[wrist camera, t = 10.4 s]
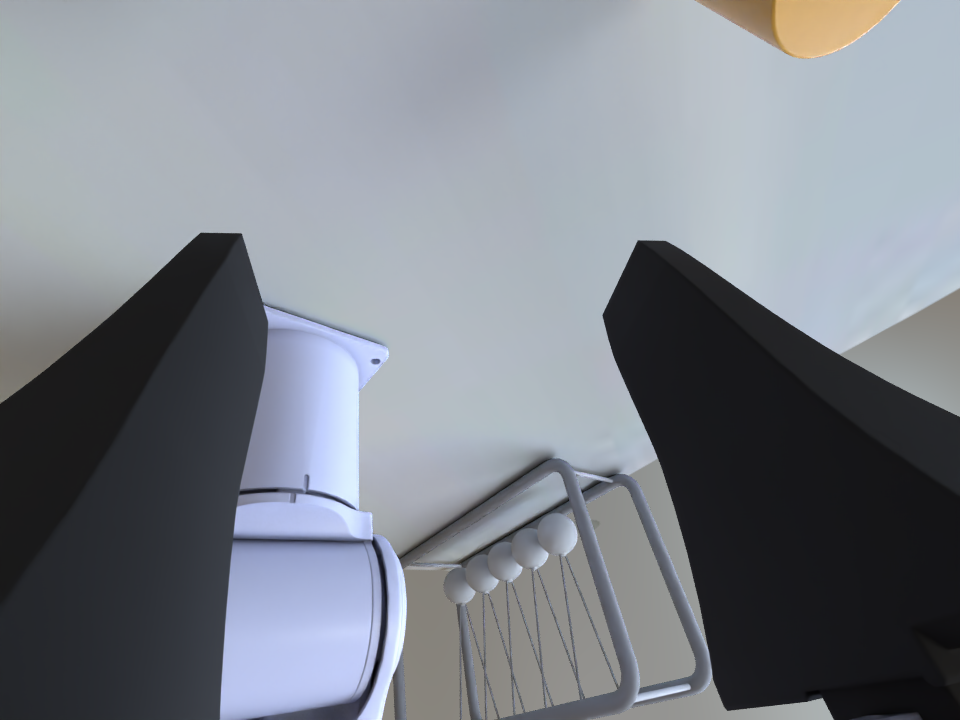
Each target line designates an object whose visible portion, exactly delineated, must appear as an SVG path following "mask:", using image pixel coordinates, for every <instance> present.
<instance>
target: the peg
mask: <svg viewBox="0 0 960 720" xmlns="http://www.w3.org/2000/svg"><path fill="white" fill-rule="evenodd" d="M695 1H697V2H699V3H700V4H702V5H704V6H705V7H707V8H709V9H711V10H712V11H714V12H716V13H717V14H719V15H721V16H723V17H724V18H726V19H728V20H729V21H731V22H733V23H735V24H736V25H738V26H740V27H742V28H743V29H745V30H747V31H748V32H750V33H752V34H754V35H755V36H757V37H759V38H760V39H762V40H764V41H766V42H767V43H769V44H771V45H772V46H774V47H776V48H778V49H779V50H781V51H783V52H784V53H786V54H788V55H790V56H792V57H797V58H807V59H809V58H816V57H821V56H825V55H828V54H831V53H833V52H836V51H838V50H840V49H842V48H844V47H846V46H848V45H850V44H851V43H853V42H854V41H856V40H857V39H859V38H860V37H862V36H863V35H864V34H866V33H867V32H868V31H870V30H871V29H872V28H873V27H874V26H875V25H877V24H878V23H879V22H880V21H881V20H882V19H883V18H884V17H885V16H886V15H887V14H888V13H889V12H890V11H891V10H892V9H893V8H894V7H895V6H896V5H897V4H898V3H899V1H900V0H695Z"/></svg>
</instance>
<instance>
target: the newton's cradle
mask: <svg viewBox="0 0 960 720" xmlns="http://www.w3.org/2000/svg"><path fill="white" fill-rule="evenodd" d="M553 472H559V473H560V474H561V476H562V478H563V481H564V484H565V487H566V491H567V494H568V497H569V500H570V501H568V502H566V503H564V504H563V505H561V506H559V507H557V508H556V509H554V510H552V511H550V512H549V513H547V514H545V515H544V516H542V517H540V518H538V519H537V520H535V521H533V522H531V523H530V524H528V525H526V526H524V527H523V528H521V529H519V530H517V531H516V532H514V533H512V534H511V535H509V536H507V537H505V538H504V539H502V540H500V541H498V542H497V543H495V544H493V545H491V546H490V547H488V548H486V549H484V550H483V551H481V552H479V553H478V554H476V555H474V556H472V557H471V558H469V559H467V560H465V561H464V562H462V563H461V564H436V563H413V562H414V561H416V560H417V559H419V558H420V557H422V556H423V555H425V554H427V553H428V552H430V551H431V550H433V549H434V548H436V547H437V546H439V545H441V544H442V543H444V542H445V541H447V540H448V539H450V538H451V537H453V536H455V535H456V534H458V533H459V532H461V531H462V530H464V529H466V528H467V527H469V526H470V525H472V524H473V523H475V522H476V521H478V520H480V519H481V518H483V517H484V516H486V515H487V514H489V513H490V512H492V511H494V510H495V509H497V508H498V507H500V506H501V505H503V504H504V503H506V502H508V501H509V500H511V499H512V498H514V497H515V496H517V495H519V494H520V493H522V492H523V491H525V490H526V489H528V488H529V487H531V486H533V485H534V484H536V483H537V482H539V481H540V480H542V479H543V478H545V477H547V476H548V475H550V474H551V473H553ZM576 475H577V476H582V477H586V478H591V479H596V480H600V481H603V482H601V483H599V484H597V485H596V486H594V487H592V488H590V489H589V490H587V491H585V492H583V493H582V492H581V489H580V486H579V483H578V480H577V477H576ZM619 486H625V487H626V488H627V489H628V490H629V492H630V494H631V497H632V499H633V502H634V504H635V507H636V509H637V512H638V514H639V517H640V519H641V522H642V524H643V527H644V530H645V532H646V534H647V537H648V540H649V542H650V544H651V547H652V550H653V552H654V555H655V557H656V560H657V562H658V565H659V567H660V570H661V572H662V575H663V577H664V580H665V582H666V585H667V588H668V590H669V592H670V595H671V597H672V600H673V603H674V605H675V608H676V610H677V613H678V615H679V618H680V620H681V623H682V626H683V628H684V631H685V633H686V636H687V638H688V641H689V643H690V645H691V648H692V651H693V653H694V656H695V660H696V668H695V672H694V673H693V675H692V676H689V677H686V678H682V679H678V680H673V681H669V682H664V683H660V684H656V685H652V686H647V687H643V688H640V686H639V685H640V674H639V670H638V665H637V661H636V658H635V655H634V652H633V649H632V646H631V643H630V639H629V636H628V633H627V630H626V627H625V624H624V621H623V618H622V615H621V612H620V609H619V606H618V603H617V599H616V596H615V593H614V590H613V587H612V584H611V581H610V578H609V575H608V572H607V569H606V566H605V563H604V560H603V556H602V553H601V550H600V547H599V544H598V541H597V538H596V535H595V532H594V529H593V526H592V523H591V520H590V517H589V513H588V510H587V508H586V504H587V503H589V502H591V501H593V500H595V499H597V498H598V497H600V496H602V495H604V494H606V493H607V492H609V491H611V490H613V489H615V488H616V487H619ZM571 512H573V513H574V517H575V520H576V523H577V527H578V530H579V533H580V537H581V540H582V543H583V546H584V549H585V553H586V556H587V559H588V563H589V566H590V569H591V573H592V576H593V579H594V583H595V586H596V589H597V592H598V596H599V599H600V602H601V606H602V609H603V612H604V615H605V619H606V622H607V625H608V629H609V632H610V635H611V638H612V642H613V645H614V648H615V651H616V655H617V658H618V661H619V664H620V669H621V683H620V687H618V684H617V682H616V679H615V677H614V674H613V671H612V669H611V666H610V664H609V662H608V659H607V657H606V654H605V651H604V649H603V646H602V644H601V641H600V639H599V636H598V634H597V631H596V629H595V626H594V624H593V621H592V619H591V616H590V614H589V611H588V609H587V606H586V603H585V601H584V598H583V596H582V593H581V591H580V589H579V586H578V583H577V581H576V578H575V576H574V573H573V571H572V568H571V566H570V563H569V561H568V558H567V556H566V554H567V553H569V552H570V551H571V550H572V549H573V548H574V546H575V544H576V542H577V530H576V527H575V525H574V523H573V522H572V520H570V518H568V517H567V516H566V515H568V514H569V513H571ZM549 553H550V554H552V555H556V556H560V563H561V569H562V577H563V584H564V591H565V598H566V605H567V612H568V618H569V625H570V632H571V639H572V647H573V653H574V660H575V667H576V672H575V669H574V666H573V664H572V661H571V658H570V655H569V653H568V650H567V647H566V644H565V642H564V639H563V636H562V634H561V631H560V628H559V625H558V622H557V620H556V617H555V614H554V612H553V608H552V606H551V603H550V600H549V598H548V595H547V592H546V589H545V586H544V584H543V581H542V578H541V575H540V573H539V570H538V567H540V566H542V565H543V564H544V563H545V561H546V560H547V558H548V554H549ZM561 557H565V558H566V560H567V563H568V565H569V568H570V570H571V573H572V575H573V578H574V580H575V583H576V586H577V588H578V591H579V593H580V595H581V598H582V601H583V603H584V606H585V608H586V611H587V613H588V616H589V618H590V621H591V623H592V626H593V628H594V631H595V633H596V636H597V639H598V641H599V644H600V646H601V649H602V651H603V654H604V656H605V659H606V661H607V664H608V666H609V669H610V671H611V674H612V677H613V679H614V682H615V684H616V687H617V689H618V690H616V691H615V692H612V693H607V694H603V695H599V696H594V697H590V698H586V699H585V697H584V694H583V691H582V689H581V686H580V681H579V674H578V667H577V660H576V654H575V647H574V640H573V633H572V626H571V619H570V613H569V606H568V599H567V592H566V585H565V578H564V572H563V565H562V558H561ZM399 561H400V564H401V567H402V569H403V568H405V567H406V566H423V567H450V568H455V569H453V570H451V571H450V572H449V573H448V574H447V576H446V577H445V580H444V592H445V595H446V597H447V598H448V599H449V600H450V601H451V602H453V603H456V605H457V614H458V621H459V629H460V720H462V702H461V701H462V698H461V697H462V690H461V646H462V654H463V661H464V671H465V679H466V687H467V695H468V703H469V711H470V716H471V720H482V718H481V715H480V710H479V702H478V695H477V687H476V680H475V673H474V665H473V659H472V650H471V643H470V635H469V628H468V620H467V614H468V617H469V621H470V624H471V628H472V631H473V634H474V638H475V641H476V645H477V648H478V651H479V655H480V659H481V662H482V665H483V669H484V675H485V676H484V678H485V720H487V693H486V679H487V683H488V686H489V689H490V693H491V696H492V700H493V703H494V707H495V710H496V714H497V717H498V719H497V720H590V719H594V718H600V717H605V716H609V715H615V714H619V713H622V712H624V711H626V710H628V709H630V708H633V707H638V706H643V705H647V704H653V703H657V702H662V701H667V700H672V699H676V698H682V697H687V696H691V695H696V694H698V693H700V692H702V691H704V690H705V689H706V687H707V686H708V685H709V683H710V680H711V677H712V668H711V662H710V656H709V650H708V648H707V646H706V643H705V641H704V639H703V636H702V634H701V631H700V629H699V626H698V624H697V622H696V619H695V617H694V614H693V612H692V610H691V607H690V605H689V602H688V600H687V598H686V595H685V593H684V590H683V588H682V586H681V583H680V581H679V578H678V576H677V573H676V571H675V569H674V566H673V564H672V562H671V559H670V557H669V554H668V552H667V549H666V547H665V544H664V542H663V540H662V537H661V535H660V532H659V530H658V528H657V525H656V523H655V520H654V518H653V515H652V513H651V511H650V508H649V506H648V504H647V501H646V499H645V496H644V494H643V492H642V489H641V487H640V486H639V484H638V482H637V481H636V480H634V479H633V478H632V477H630V476H628V475H625V474H617V475H614V476H611V477H609V478H606V477H601V476H597V475H592V474H588V473H584V472H579V471H575V470H573V468H572V467H571V466H570V465H569V464H568V463H567V462H566V461H564V460H562V459H550V460H548V461H545V462H544V463H542V464H541V465H539V466H538V467H536V468H535V469H533V470H532V471H530V472H529V473H527V474H526V475H524V476H523V477H521V478H520V479H518V480H517V481H515V482H514V483H512V484H511V485H509V486H508V487H506V488H505V489H503V490H502V491H500V492H499V493H498V494H496V495H495V496H493V497H492V498H490V499H489V500H487V501H486V502H484V503H483V504H481V505H480V506H478V507H477V508H475V509H474V510H472V511H471V512H469V513H468V514H466V515H465V516H463V517H462V518H460V519H459V520H457V521H456V522H454V523H453V524H451V525H450V526H448V527H447V528H445V529H444V530H442V531H441V532H439V533H438V534H436V535H435V536H433V537H432V538H430V539H429V540H427V541H426V542H424V543H423V544H421V545H420V546H418V547H417V548H415V549H414V550H412V551H411V552H409V553H408V554H406V555H405V556H403V557H402V558H400V559H399ZM522 568H526V569H532V581H533V591H534V601H535V611H536V621H537V631H538V642H539V652H540V662H541V666H540V663H539V660H538V657H537V654H536V651H535V648H534V645H533V642H532V639H531V636H530V633H529V629H528V627H527V623H526V620H525V617H524V614H523V611H522V608H521V606H520V602H519V599H518V596H517V593H516V590H515V587H514V584H513V582H512V580H514V579H515V578H517V577H518V576H519V574H520V573H521V571H522ZM536 570H537V572H538V575H539V577H540V580H541V583H542V586H543V588H544V591H545V594H546V597H547V599H548V602H549V605H550V608H551V611H552V613H553V616H554V618H555V622H556V624H557V627H558V630H559V633H560V636H561V638H562V641H563V644H564V647H565V649H566V652H567V655H568V658H569V661H570V663H571V666H572V669H573V671H574V674H575V677H576V680H577V683H578V688H579V695H580V700H577V701H573V702H569V703H565V704H560V705H557V706H554V705H553V702H552V699H551V696H550V693H549V690H548V687H547V684H546V681H545V678H544V674H543V664H542V655H541V644H540V634H539V624H538V615H537V604H536V595H535V584H534V574H533V571H536ZM499 580H500V581H506V592H507V609H508V627H509V645H510V660H509V656H508V653H507V650H506V646H505V643H504V640H503V637H502V633H501V630H500V627H499V623H498V620H497V617H496V613H495V610H494V607H493V603H492V600H491V597H490V594H489V591H491V590H493V589H494V588H495V586H496V585H497V584H498V582H499ZM508 583H512V586H513V589H514V592H515V595H516V598H517V601H518V604H519V607H520V610H521V613H522V616H523V619H524V622H525V625H526V628H527V631H528V635H529V638H530V641H531V643H532V647H533V650H534V653H535V656H536V659H537V662H538V665H539V668H540V671H541V674H542V683H543V693H544V703H545V708H543V709H539V710H535V711H530V712H526V713H525V710H524V706H523V703H522V700H521V696H520V693H519V690H518V686H517V683H516V680H515V676H514V673H513V666H512V650H511V633H510V616H509V600H508ZM476 591H477V592H480V593H483V631H484V663H483V660H482V657H481V653H480V650H479V646H478V643H477V640H476V636H475V633H474V629H473V626H472V622H471V619H470V616H469V612H468V609H467V605H466V603H467V602H468V601H470V600H471V599H472V598H473V596H474V594H475V592H476ZM486 594H488V595H489V599H490V602H491V605H492V609H493V612H494V615H495V618H496V622H497V625H498V629H499V632H500V635H501V638H502V642H503V645H504V649H505V652H506V655H507V659H508V662H509V665H510V669H511V679H512V697H513V712H514V713H513V714H514V715H513V716H509V717H505V718H501V719H500V718H499V715H498V711H497V708H496V704H495V701H494V698H493V694H492V691H491V687H490V684H489V681H488V677H487V674H486V652H485V609H484V595H486ZM466 610H467V613H466ZM510 662H511V663H510ZM576 674H577V675H576ZM513 679H514V682H515V685H516V689H517V692H518V695H519V699H520V702H521V705H522V709H523V712H524V713H522V714H518V715H515V701H514V684H513ZM544 683H545V684H544ZM393 684H394V708H395V720H406V705H405V684H404V665H403V648H402V651H401V655H400V659H399V662H398V665H397V667H396V670H395V672H394V674H393ZM545 686H546V689H547V692H548V695H549V699H550V702H551V705H552V707H548V708H547V704H546V694H545ZM582 697H583V699H582Z"/></svg>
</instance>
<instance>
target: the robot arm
mask: <svg viewBox="0 0 960 720" xmlns="http://www.w3.org/2000/svg"><path fill="white" fill-rule="evenodd" d="M603 319H604V323H605V327H606V331H607V335H608V339H609V342H610V346H611V349H612V352H613V356H614V358H615V361H616V363H617V366H618V368H619V370H620V373H621V375H622V377H623V380H624V382H625V384H626V387H627V389H628V391H629V393H630V395H631V398H632V400H633V402H634V404H635V407H636V409H637V411H638V413H639V416H640V418H641V420H642V422H643V424H644V427H645V429H646V431H647V433H648V436H649V438H650V440H651V442H652V445H653V447H654V449H655V452H656V454H657V457H658V459H659V462H660V465H661V467H662V470H663V473H664V476H665V480H666V483H667V486H668V489H669V492H670V495H671V498H672V501H673V505H674V507H675V511H676V515H677V518H678V522H679V525H680V529H681V532H682V536H683V539H684V543H685V546H686V550H687V553H688V558H689V562H690V566H691V570H692V574H693V579H694V583H695V587H696V591H697V595H698V599H699V604H700V608H701V614H702V619H703V624H704V629H705V635H706V640H707V644H708V650H709V656H710V662H711V668H712V674H713V680H714V683H715V686H716V688H717V690H718V693H719V695H720V698H721V700H722V703H723V705H724V707H725V708H726V710H727V711H730V710H739V709H747V708H756V707H765V706H774V705H782V704H791V703H800V702H808V701H812V700H816V699H820V698H823V699H824V701H825V703H826V705H827V707H828V709H829V711H830V713H831V715H832V717H833V719H834V720H960V417H959V416H957V415H954V414H952V413H950V412H948V411H946V410H944V409H942V408H940V407H938V406H935V405H934V404H931V403H929V402H927V401H925V400H923V399H921V398H919V397H917V396H915V395H913V394H911V393H909V392H907V391H905V390H903V389H901V388H899V387H897V386H895V385H893V384H891V383H889V382H887V381H885V380H883V379H882V378H880V377H878V376H876V375H875V374H873V373H871V372H869V371H867V370H865V369H864V368H862V367H860V366H858V365H856V364H854V363H853V362H851V361H849V360H847V359H845V358H844V357H842V356H840V355H839V354H837V353H835V352H834V351H832V350H830V349H829V348H827V347H825V346H824V345H822V344H820V343H819V342H817V341H816V340H814V339H813V338H811V337H809V336H808V335H806V334H805V333H803V332H802V331H800V330H798V329H797V328H795V327H794V326H792V325H791V324H789V323H788V322H786V321H785V320H783V319H782V318H780V317H779V316H777V315H776V314H774V313H773V312H771V311H770V310H768V309H767V308H765V307H764V306H762V305H761V304H759V303H758V302H756V301H755V300H754V299H752V298H751V297H749V296H748V295H746V294H745V293H744V292H742V291H741V290H739V289H738V288H736V287H735V286H734V285H732V284H731V283H729V282H728V281H726V280H725V279H724V278H722V277H721V276H719V275H718V274H716V273H715V272H714V271H712V270H711V269H709V268H708V267H706V266H705V265H704V264H702V263H701V262H699V261H698V260H696V259H695V258H693V257H692V256H690V255H689V254H687V253H685V252H684V251H682V250H681V249H679V248H677V247H676V246H674V245H672V244H670V243H668V242H667V241H640V240H638V241H637V244H636V246H635V248H634V250H633V252H632V254H631V256H630V258H629V260H628V262H627V265H626V267H625V269H624V271H623V273H622V275H621V277H620V279H619V281H618V284H617V286H616V288H615V290H614V292H613V294H612V296H611V298H610V300H609V303H608V305H607V307H606V309H605V311H604V313H603ZM388 356H389V352H388V349H387V347H385V346H382V345H379V344H376V343H373V342H370V341H368V340H365V339H362V338H359V337H356V336H353V335H350V334H347V333H344V332H341V331H338V330H335V329H332V328H329V327H326V326H323V325H320V324H317V323H315V322H312V321H309V320H306V319H303V318H300V317H297V316H294V315H291V314H288V313H285V312H282V311H279V310H276V309H273V308H270V307H267V306H265V305H263V302H262V299H261V296H260V293H259V289H258V286H257V283H256V279H255V276H254V273H253V269H252V266H251V263H250V259H249V256H248V253H247V250H246V246H245V243H244V240H243V236H242V234H239V233H200V234H199V235H198V236H197V237H195V238H194V239H193V240H192V241H191V242H190V243H189V244H188V245H186V246H185V247H184V248H183V249H182V250H181V251H180V252H179V253H178V254H177V255H176V256H175V257H174V258H173V259H172V260H171V261H170V262H169V263H168V264H166V265H165V266H164V267H163V268H162V269H161V270H160V271H159V272H158V273H157V274H156V275H155V276H154V277H153V278H152V279H151V280H150V281H149V282H147V283H146V284H145V285H144V286H143V287H142V288H141V289H140V290H139V291H138V292H136V293H135V294H134V295H133V296H132V297H131V298H130V299H129V300H128V301H127V302H126V303H124V304H123V305H122V306H121V307H120V308H119V309H118V310H117V311H116V312H115V313H114V314H112V315H111V316H110V317H109V318H108V319H107V320H105V321H104V322H103V323H102V324H101V325H99V326H98V327H97V328H96V329H95V330H93V331H92V332H91V333H90V334H89V335H87V336H86V337H85V338H84V339H83V340H81V341H80V342H79V343H78V344H76V345H75V346H74V347H73V348H72V349H70V350H69V351H68V352H67V353H66V354H64V355H63V356H62V357H61V358H60V359H58V360H57V361H56V362H55V363H53V364H52V365H51V366H50V367H49V368H47V369H46V370H45V371H44V372H42V373H41V374H40V375H38V376H37V377H36V378H34V379H33V380H32V381H30V382H29V383H28V384H26V385H25V386H24V387H22V388H21V389H20V390H18V391H17V392H16V393H14V394H13V395H12V396H10V397H9V398H8V399H6V400H5V401H3V402H2V403H0V720H382V714H383V709H384V705H385V699H386V696H387V692H388V688H389V685H390V681H391V678H392V675H393V674H394V672H395V670H396V667H397V665H398V662H399V659H400V655H401V651H402V647H403V642H404V635H405V627H406V605H407V604H406V588H405V580H404V575H403V570H402V567H401V564H400V561H399V559H398V557H397V555H396V554H395V552H394V550H393V548H392V546H391V544H390V543H389V542H388V540H387V539H386V538H385V537H383V536H382V535H377V534H373V531H372V513H371V512H363V511H359V391H360V390H361V389H362V388H363V386H364V385H365V384H366V383H367V382H368V381H369V379H370V378H371V377H372V376H373V375H374V374H375V372H376V371H377V370H378V369H379V368H380V367H381V365H382V364H383V363H384V362H385V361H386V360H387V358H388ZM374 358H376V359H374Z"/></svg>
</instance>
